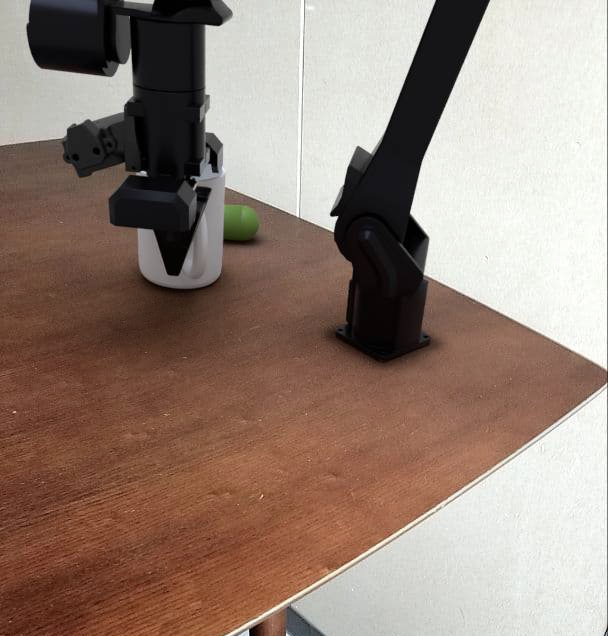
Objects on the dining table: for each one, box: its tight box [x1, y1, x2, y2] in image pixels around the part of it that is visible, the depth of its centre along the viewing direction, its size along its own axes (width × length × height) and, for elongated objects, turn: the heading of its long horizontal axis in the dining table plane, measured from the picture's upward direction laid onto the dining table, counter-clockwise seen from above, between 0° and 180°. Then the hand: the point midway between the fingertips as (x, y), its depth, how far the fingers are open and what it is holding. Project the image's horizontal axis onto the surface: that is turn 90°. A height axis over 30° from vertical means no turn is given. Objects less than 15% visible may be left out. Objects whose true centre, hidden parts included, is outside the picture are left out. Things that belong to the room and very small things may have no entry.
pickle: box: [223, 203, 260, 242], centre depth 94 cm, size 10×4×4 cm, turn 86°
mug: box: [135, 164, 226, 290], centre depth 83 cm, size 12×8×10 cm
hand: (173, 275), depth 78 cm, fingers closed
